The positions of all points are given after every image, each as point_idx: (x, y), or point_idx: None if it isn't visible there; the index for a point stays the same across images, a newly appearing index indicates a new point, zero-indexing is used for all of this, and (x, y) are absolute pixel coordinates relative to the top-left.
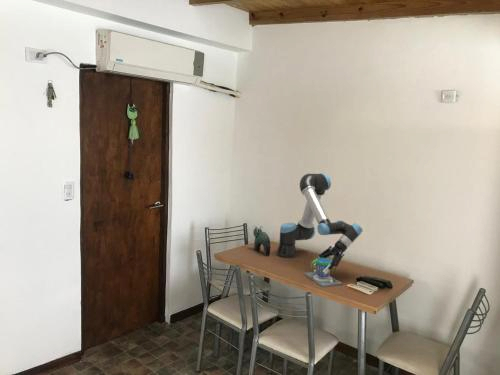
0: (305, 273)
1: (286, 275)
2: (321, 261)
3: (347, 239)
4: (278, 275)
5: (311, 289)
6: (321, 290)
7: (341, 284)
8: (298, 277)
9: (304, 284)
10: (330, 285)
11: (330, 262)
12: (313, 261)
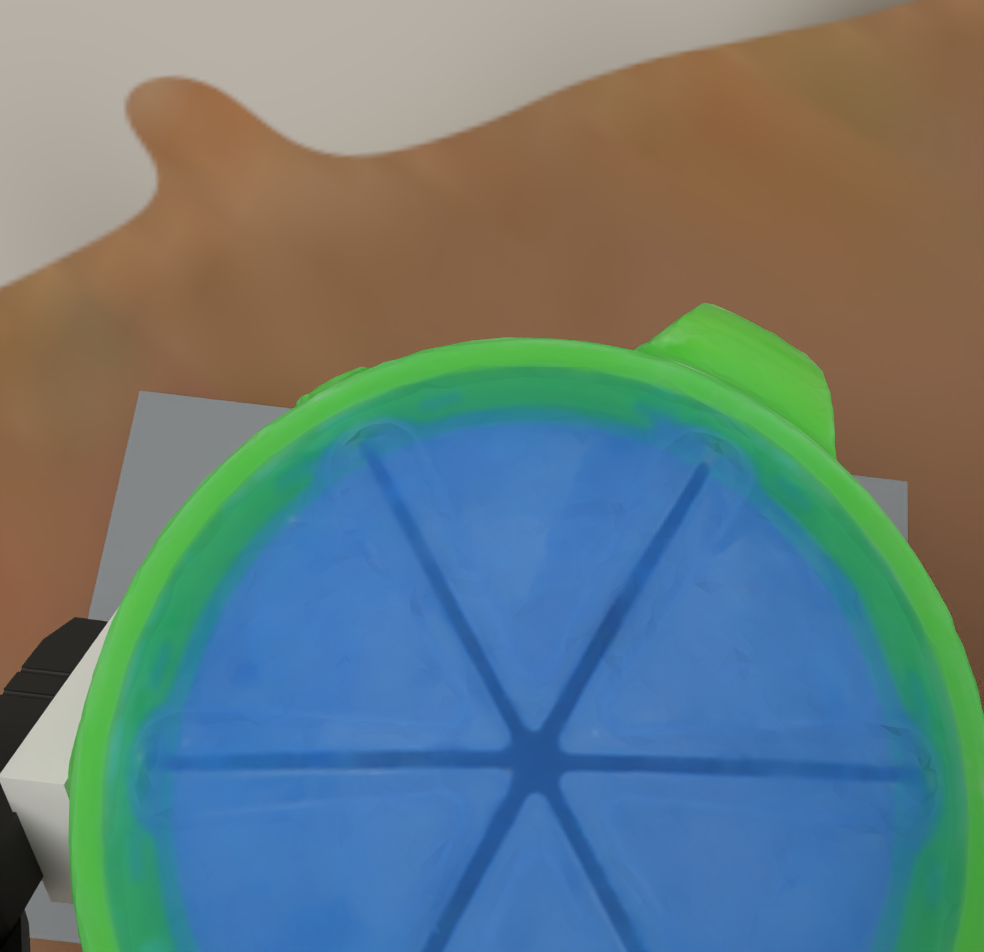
0: (867, 485)
1: (912, 138)
2: (539, 591)
3: None
4: (943, 15)
5: (154, 147)
6: (29, 280)
7: (35, 898)
8: (758, 280)
9: (404, 174)
10: (103, 589)
11: (92, 872)
12: (735, 324)
